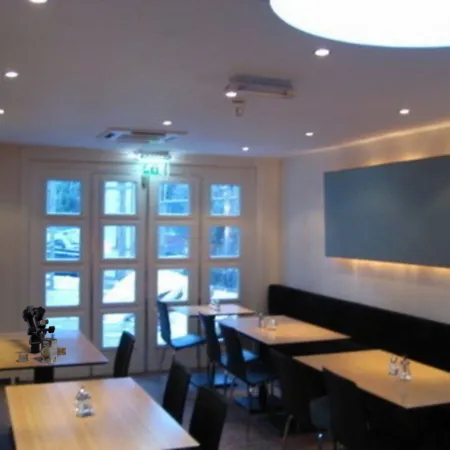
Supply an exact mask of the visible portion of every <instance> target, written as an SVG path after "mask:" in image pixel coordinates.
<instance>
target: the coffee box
mask: <svg viewBox="0 0 450 450" xmlns="http://www.w3.org/2000/svg"><path fill="white" fill-rule="evenodd" d="M57 348H58V339H57V338H54V337H53V338H52V337H45V338H43V339H41V344H40V351H41V352H40V362H41V363H42V364H43V363H44V364H50V365H51V364H55V363H57V362H58V355H57Z"/></svg>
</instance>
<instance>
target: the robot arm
mask: <svg viewBox="0 0 450 450" xmlns="http://www.w3.org/2000/svg"><path fill="white" fill-rule="evenodd" d="M45 314H46V309H45V308H44V307H42V306H38V307H36V306H34V305H27V306H26V307H25V309H24V310H22V314H21V318H22V319H23V321H24V322H26V323H27V326H28V329H27V331H26V335H27V336H29V338H28V339H29V340H28V345H30V351H29V352H28V354H29V353H30V354H39V353H41V339H43V338H46V337H45V336H46V335H47V333H48V334H54V333H55V331H56V326H55V325H49V323H50V322H49V318H46V319H45V320H44V317H45ZM47 325H49V326H48V327H47ZM46 327H47V328H46Z"/></svg>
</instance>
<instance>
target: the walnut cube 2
mask: <svg viewBox="0 0 450 450" xmlns="http://www.w3.org/2000/svg"><path fill="white" fill-rule="evenodd" d="M58 355H60V357H61V355H62V356H66V355H67V347H63V346H59V347H57V356H58Z"/></svg>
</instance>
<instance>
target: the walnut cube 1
mask: <svg viewBox="0 0 450 450" xmlns="http://www.w3.org/2000/svg"><path fill="white" fill-rule="evenodd" d="M28 361H29V353H20V354H18V359H17V362H18V363H27V362H28Z"/></svg>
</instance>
